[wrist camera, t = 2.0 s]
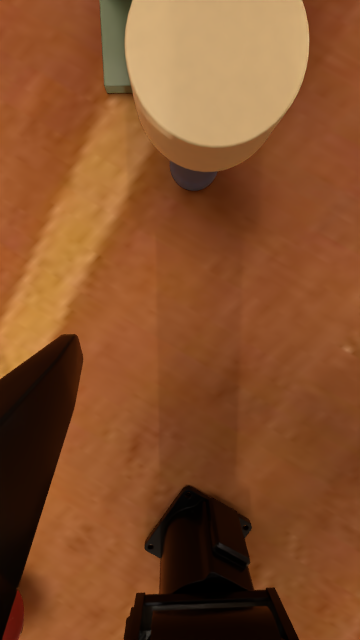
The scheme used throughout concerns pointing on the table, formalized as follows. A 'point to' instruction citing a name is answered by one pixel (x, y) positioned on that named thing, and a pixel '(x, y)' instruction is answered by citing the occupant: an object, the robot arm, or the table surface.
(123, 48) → the stand
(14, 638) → the kendama
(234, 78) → the peg
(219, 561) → the robot arm
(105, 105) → the table surface
